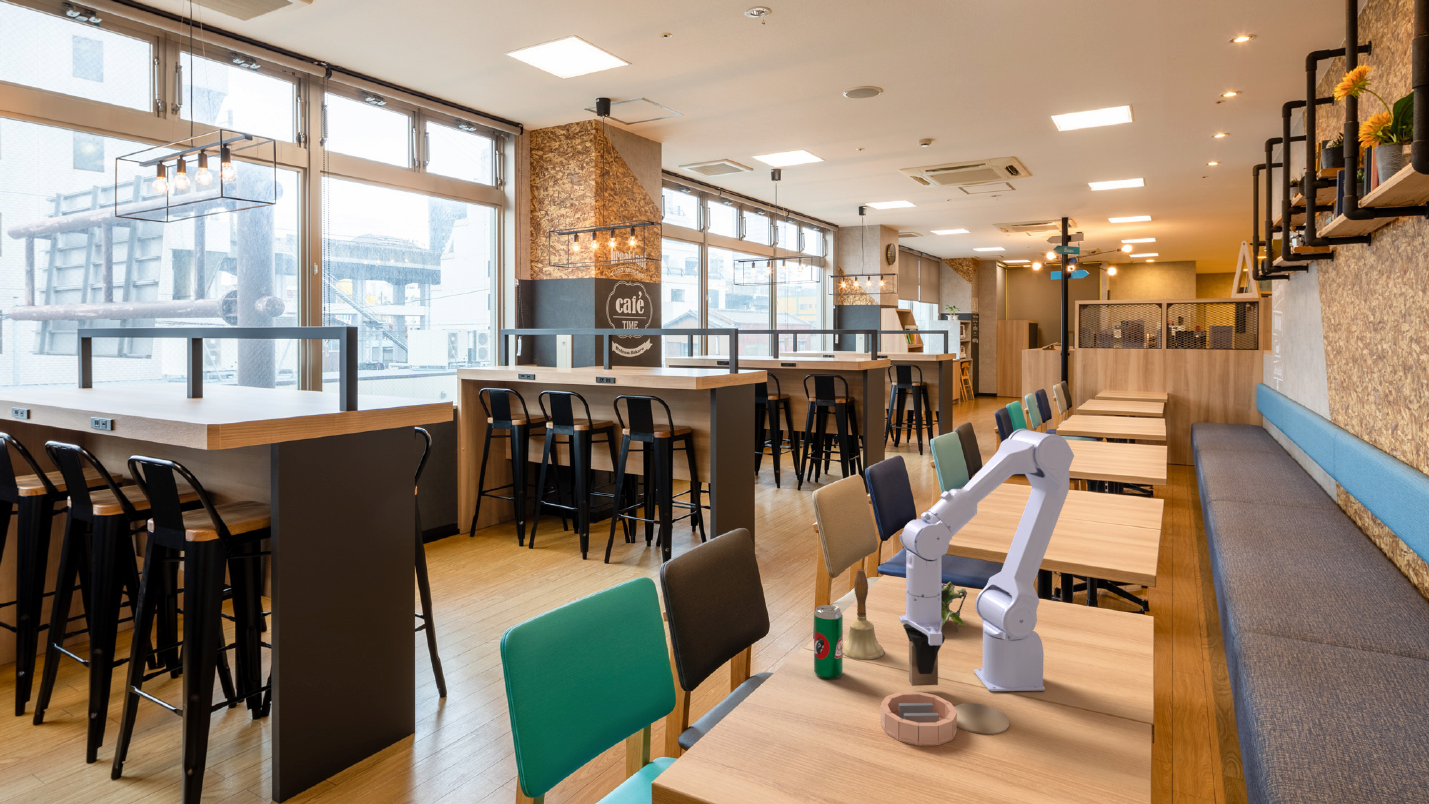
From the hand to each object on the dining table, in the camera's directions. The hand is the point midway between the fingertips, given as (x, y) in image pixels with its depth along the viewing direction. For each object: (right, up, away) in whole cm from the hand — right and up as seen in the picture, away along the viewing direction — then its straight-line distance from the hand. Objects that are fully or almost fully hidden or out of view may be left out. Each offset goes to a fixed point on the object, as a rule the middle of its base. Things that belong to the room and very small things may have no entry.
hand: (923, 670), depth 130 cm
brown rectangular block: (0, -2, 0) cm, 2 cm away
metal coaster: (+6, -4, -10) cm, 12 cm away
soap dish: (-4, -5, -12) cm, 13 cm away
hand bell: (-7, -3, +17) cm, 19 cm away
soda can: (-15, -4, +7) cm, 17 cm away
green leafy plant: (+12, -1, +29) cm, 32 cm away
